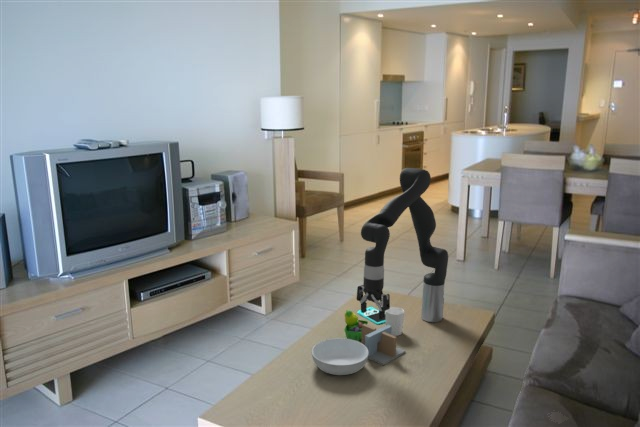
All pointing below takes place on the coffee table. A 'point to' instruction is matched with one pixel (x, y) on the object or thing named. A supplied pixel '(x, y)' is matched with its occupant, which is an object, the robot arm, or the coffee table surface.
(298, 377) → the coffee table surface
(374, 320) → the handheld game console
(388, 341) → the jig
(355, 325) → the fruit basket
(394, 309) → the white cup
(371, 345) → the slotted plate
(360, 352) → the serving bowl
